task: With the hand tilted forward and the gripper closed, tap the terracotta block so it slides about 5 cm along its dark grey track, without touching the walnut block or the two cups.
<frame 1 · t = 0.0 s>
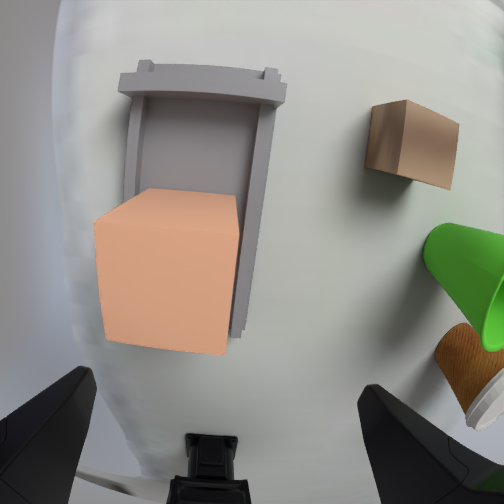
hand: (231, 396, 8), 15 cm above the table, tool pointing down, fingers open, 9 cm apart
cup: (440, 247, 24), on the table
disposable coffee cup: (452, 342, 29), on the table
track: (192, 202, 20), on the table
terracotta block: (177, 256, 16), point 5 cm above the table, slide at 0.0 cm
walnut block: (394, 143, 20), on the table
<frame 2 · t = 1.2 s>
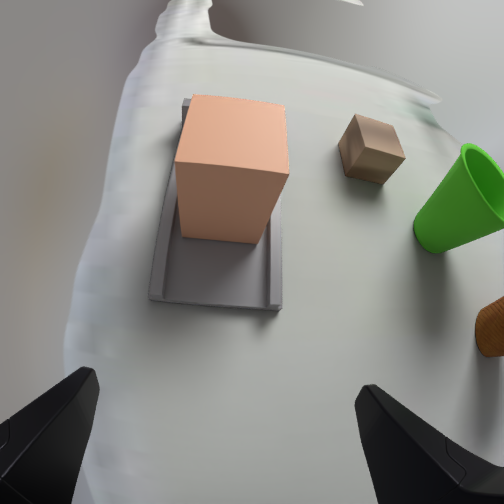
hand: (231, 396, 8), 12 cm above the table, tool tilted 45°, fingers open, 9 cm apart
cup: (427, 234, 28), on the table
disposable coffee cup: (486, 332, 25), on the table
track: (223, 194, 25), on the table
terracotta block: (228, 174, 20), point 5 cm above the table, slide at 0.0 cm
walnut block: (360, 163, 30), on the table
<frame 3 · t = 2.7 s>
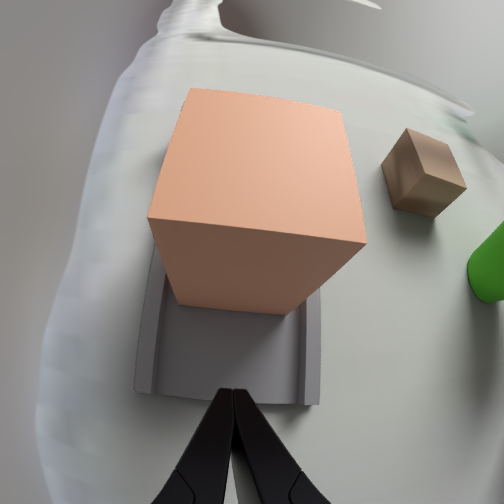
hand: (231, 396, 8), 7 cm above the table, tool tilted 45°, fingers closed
cup: (480, 278, 21), on the table
track: (238, 237, 19), on the table
terracotta block: (247, 219, 13), point 5 cm above the table, slide at 0.0 cm
walnut block: (408, 191, 23), on the table
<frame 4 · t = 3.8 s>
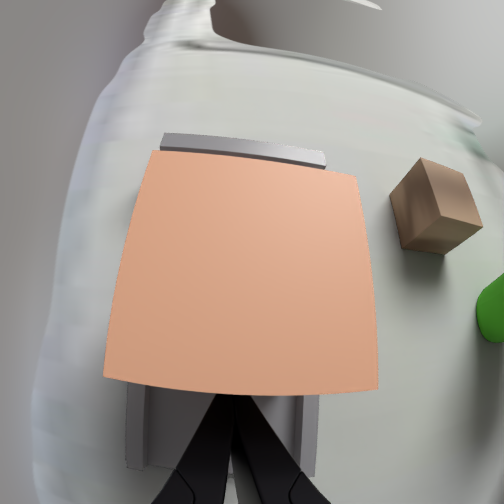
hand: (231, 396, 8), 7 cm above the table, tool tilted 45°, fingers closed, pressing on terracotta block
cup: (489, 316, 19), on the table
track: (229, 297, 16), on the table
terracotta block: (235, 306, 11), point 6 cm above the table, slide at 0.1 cm, touching gripper
walnut block: (418, 225, 21), on the table
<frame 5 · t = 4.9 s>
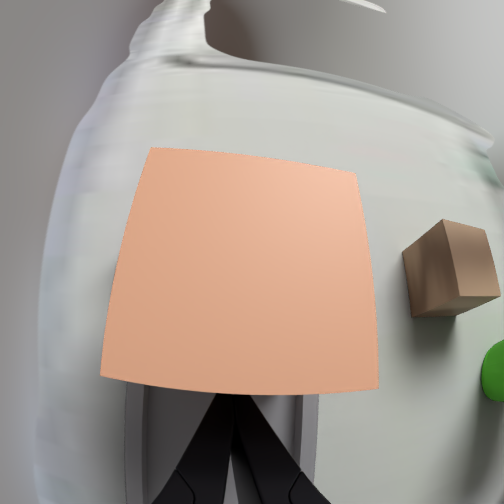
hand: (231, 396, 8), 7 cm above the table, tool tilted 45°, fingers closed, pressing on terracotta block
cup: (493, 372, 16), on the table
track: (222, 391, 14), on the table
terracotta block: (234, 304, 10), point 5 cm above the table, slide at 5.5 cm, touching gripper
walnut block: (430, 285, 19), on the table
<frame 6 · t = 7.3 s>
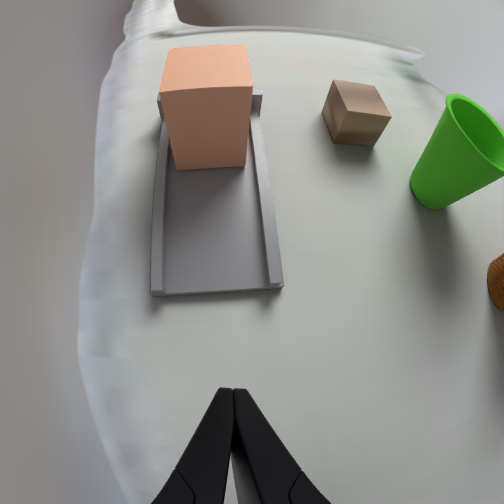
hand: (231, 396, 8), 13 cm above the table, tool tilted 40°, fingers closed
cup: (426, 191, 27), on the table
disposable coffee cup: (500, 285, 24), on the table
track: (211, 180, 25), on the table
terracotta block: (208, 107, 21), point 6 cm above the table, slide at 5.7 cm
walnut block: (347, 128, 29), on the table
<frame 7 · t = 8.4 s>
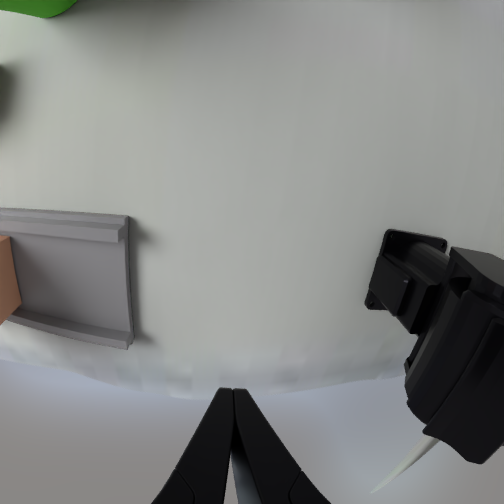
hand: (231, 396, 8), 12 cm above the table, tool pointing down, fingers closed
track: (26, 267, 18), on the table
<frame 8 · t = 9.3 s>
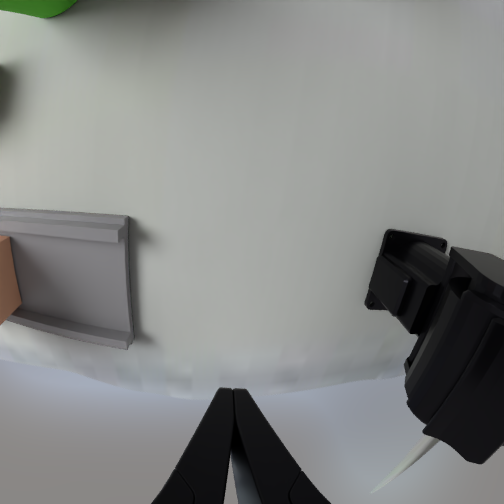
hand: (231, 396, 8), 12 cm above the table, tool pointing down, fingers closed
track: (26, 267, 18), on the table
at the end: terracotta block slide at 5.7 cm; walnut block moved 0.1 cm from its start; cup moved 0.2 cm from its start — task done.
